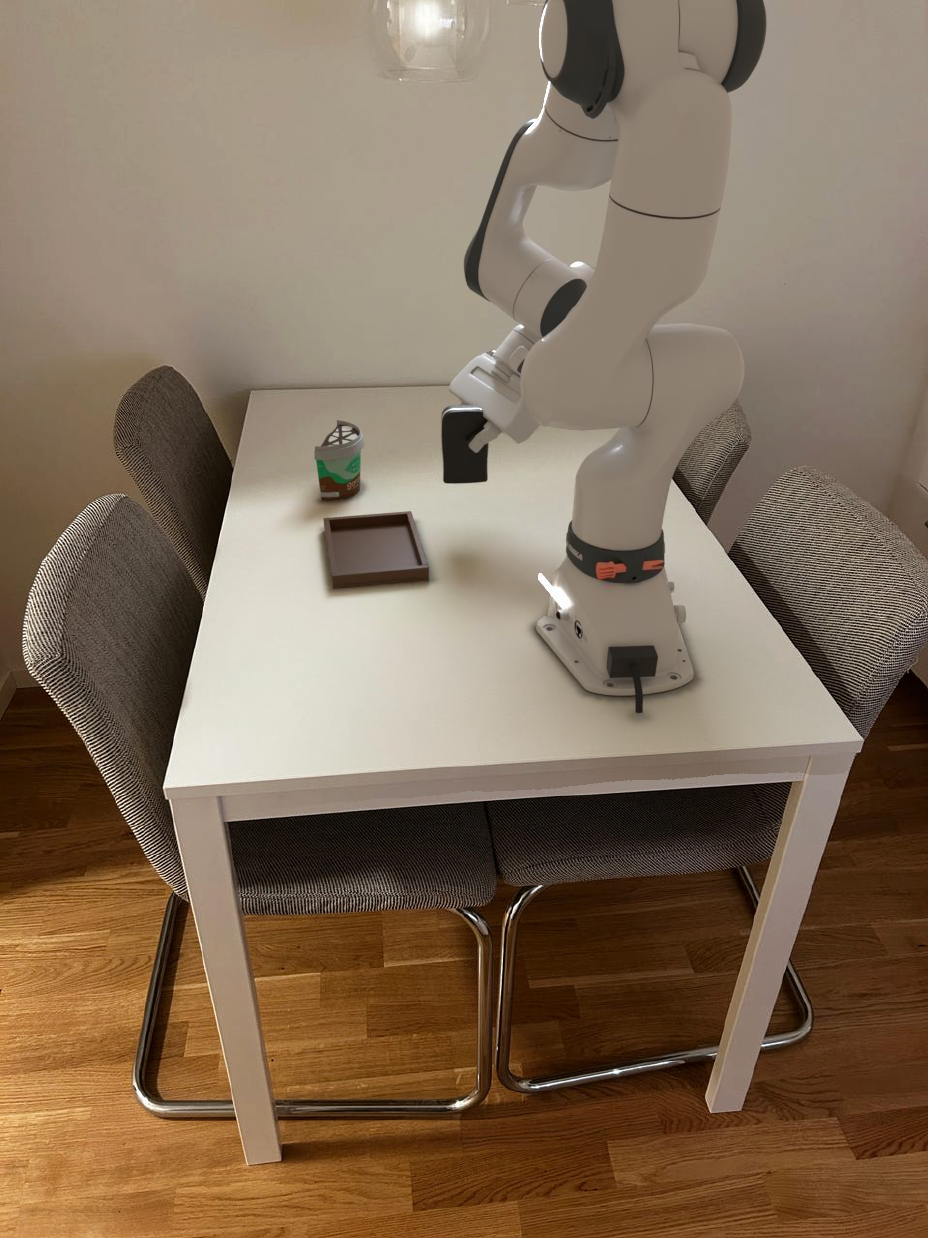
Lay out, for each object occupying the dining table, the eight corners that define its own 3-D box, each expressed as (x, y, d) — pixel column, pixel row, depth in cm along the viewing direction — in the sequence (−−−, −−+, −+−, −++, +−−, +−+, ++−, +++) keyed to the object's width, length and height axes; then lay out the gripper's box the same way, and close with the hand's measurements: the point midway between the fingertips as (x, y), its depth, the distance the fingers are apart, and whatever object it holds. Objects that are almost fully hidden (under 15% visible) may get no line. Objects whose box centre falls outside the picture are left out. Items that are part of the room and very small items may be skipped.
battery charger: (486, 473, 143) (486, 400, 137) (489, 483, 140) (489, 409, 134) (440, 475, 143) (439, 402, 137) (442, 485, 140) (440, 411, 134)
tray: (429, 580, 133) (429, 567, 132) (333, 589, 131) (331, 576, 130) (411, 522, 148) (411, 510, 146) (324, 529, 145) (323, 517, 144)
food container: (354, 508, 151) (351, 450, 146) (318, 504, 152) (313, 447, 147) (376, 476, 162) (373, 421, 156) (341, 473, 163) (337, 418, 157)
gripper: (476, 334, 142) (418, 406, 144) (544, 374, 127) (478, 454, 128) (502, 359, 146) (445, 429, 148) (570, 401, 131) (506, 478, 132)
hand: (461, 441), depth 138 cm, fingers closed on battery charger, 5 cm apart
